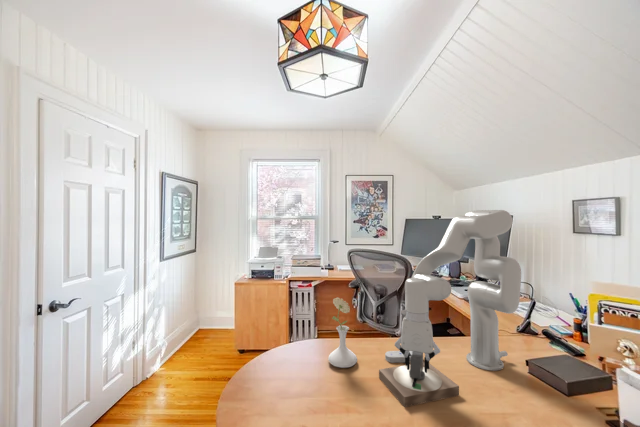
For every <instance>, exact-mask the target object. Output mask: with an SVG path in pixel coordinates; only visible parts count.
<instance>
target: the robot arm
mask: <svg viewBox="0 0 640 427" xmlns="http://www.w3.org/2000/svg"><path fill="white" fill-rule="evenodd" d="M512 226H513V217H512V215H511V214H510V212H508V211H507V210H504V209H478V210H471V211H470V210H469V211H467V212H466V213H465V214H464V215H458V216H455V217H454V218H451V220H450V222H449V224H448V226H447V228H446V231H444V232H445V233H444V234H443V237H442V239H441V240H440V243H439V245H438V246H437V247H436V248H435V249H434V250H432V251H431V252H430V253H428V254H427V255H426V256H424V257H423V258H421V260H420V261H419V262H418V264H417V265H416V266H415V269H414V271H413V273H412V275H411V277H410V278H407V279H406V280H405V282H404V308H403V310H400V315H402V316H404V317H403V318H402V322H401V328H400V329H401V331H400V332H401V335H400V336H399V338H398V339H397V340H396V341H395V342H394V347H395V348H397V350H398V351H400V352H401V353H402V354H403V355H404V357H405V362H404V365H405V366H407V370H409V367H410V355H409V351H414V352H421V353H423V354H424V356H423V362H424V368H425V373H427V369H429V363H430V361H431V359H432V358H434V357H435V356H436V355H439V354H440V353H441V349H440V348H439V346H438V345H437V343H436V342H435V341H434V337H433V336H434V334H433V325H432V322H431V319H430V318H429V301H443V300H446V299H447V298H449V297H450V296H451V293H452V286H451V284H450V282H449V281H447V280H446V279H445V278H442V277H439V276H435V275H431V274H432V273H433V272H434V271H435V270H436V269H438V268H439V267H442V266H444V265H448V264H450V263H451V264H452V263H455V262H458V261H459V260H461V259H462V257H463V256H464V253H465V251H466V248H467V246H468V244H469V242H470V241H471V240H472V239H473V240H474V242H475V243H474V244H475V248H474V250H475V252H474V262H473V270H474V273H475V275H476V276H477V277H478V278H482V279H487V280H491V281H495V282H499V284H496V283H492V282H487V281H484V280H483V281H481V280H476V281H473V282H471V283H470V284H469V285H468V287H467V292H466V293H467V297H468V302H469V309H470V310H469V312H470V314H469V315H470V352H468V353H467V354H466V355H465V356H466V358H465V359H466V361H467V362H468V363H469V364H471V366H473V367H477V368H478V369H481V370H485V371H494V372H495V371H501V370H503V369H504V362H503V361H502V360H501V359H502V358H503V357H508V356H509V355H508V352H507V351H506V350H502V351H501V350H499V347H500V346H499V340H500V339H499V318H498V317H499V316H498V315H497V312H501V313H504V314H508V315H509V314H510V315H511V314H514V313H515V312H516V311H517V310H518V308H519V305H520V300H521V299H520V297H521V286H522V268H521V265H520V263H519V262H518V260H516V259H515V258H513V257H509V256H504V255H503V256H501V243H500V239H499V238H498V236H500V235H503V234H505V233H507V232H508V231H509V230H510V229H511V227H512ZM496 311H497V312H496Z"/></svg>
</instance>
